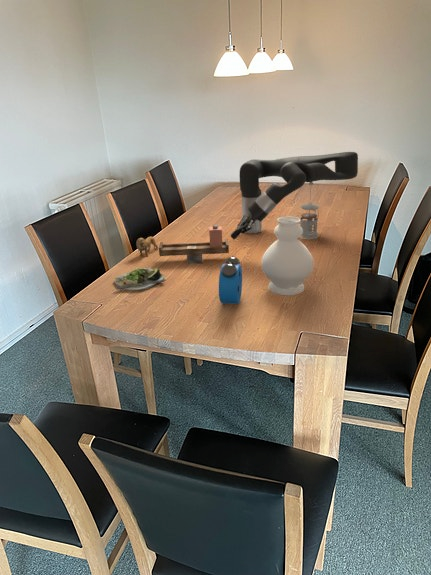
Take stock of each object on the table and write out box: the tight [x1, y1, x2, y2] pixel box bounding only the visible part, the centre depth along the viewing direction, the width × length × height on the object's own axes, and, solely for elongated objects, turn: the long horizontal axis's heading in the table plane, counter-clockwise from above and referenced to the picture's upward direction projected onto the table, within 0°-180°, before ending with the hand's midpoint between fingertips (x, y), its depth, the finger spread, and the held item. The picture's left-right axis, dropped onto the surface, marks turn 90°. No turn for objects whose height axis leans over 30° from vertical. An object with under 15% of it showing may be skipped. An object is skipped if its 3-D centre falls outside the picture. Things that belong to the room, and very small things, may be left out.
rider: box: [208, 224, 223, 247], centre depth 176 cm, size 5×4×9 cm
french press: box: [299, 181, 320, 240], centre depth 198 cm, size 10×12×25 cm
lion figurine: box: [136, 236, 159, 258], centre depth 188 cm, size 15×5×9 cm, turn 164°
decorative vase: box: [260, 215, 314, 296], centre depth 149 cm, size 18×18×25 cm
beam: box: [158, 238, 230, 265], centre depth 179 cm, size 28×7×8 cm, turn 91°
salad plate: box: [113, 267, 167, 292], centre depth 162 cm, size 19×18×5 cm
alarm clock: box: [218, 255, 243, 307], centre depth 143 cm, size 13×6×15 cm, turn 169°
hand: (232, 237), depth 176 cm, fingers closed
